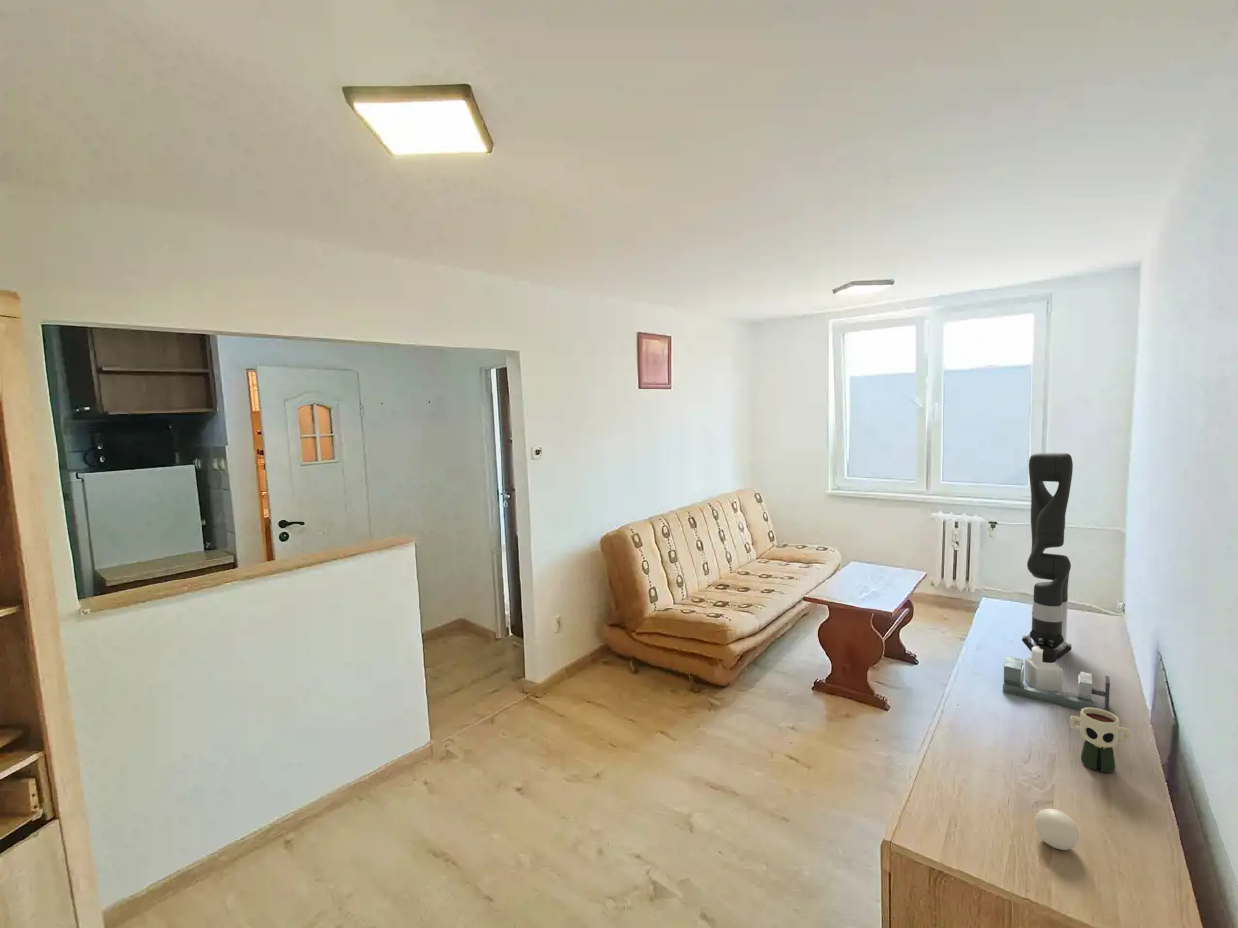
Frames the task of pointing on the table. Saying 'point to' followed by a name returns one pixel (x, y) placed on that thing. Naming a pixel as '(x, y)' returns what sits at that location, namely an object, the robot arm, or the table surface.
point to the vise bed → (1015, 687)
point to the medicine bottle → (1043, 670)
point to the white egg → (1056, 829)
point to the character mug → (1099, 737)
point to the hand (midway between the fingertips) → (1045, 669)
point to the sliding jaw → (1087, 690)
